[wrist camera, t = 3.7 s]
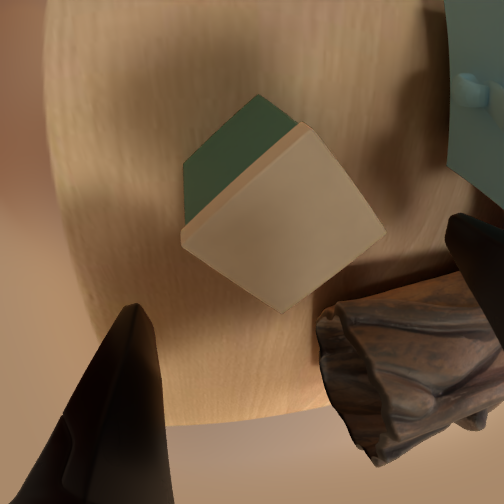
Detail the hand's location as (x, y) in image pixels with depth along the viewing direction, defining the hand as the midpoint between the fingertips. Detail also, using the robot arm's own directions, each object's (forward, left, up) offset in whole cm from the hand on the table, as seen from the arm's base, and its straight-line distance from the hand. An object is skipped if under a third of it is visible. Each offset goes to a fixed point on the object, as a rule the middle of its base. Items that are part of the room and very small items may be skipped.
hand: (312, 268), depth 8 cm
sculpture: (-21, -6, -7) cm, 23 cm away
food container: (0, 0, -7) cm, 7 cm away
